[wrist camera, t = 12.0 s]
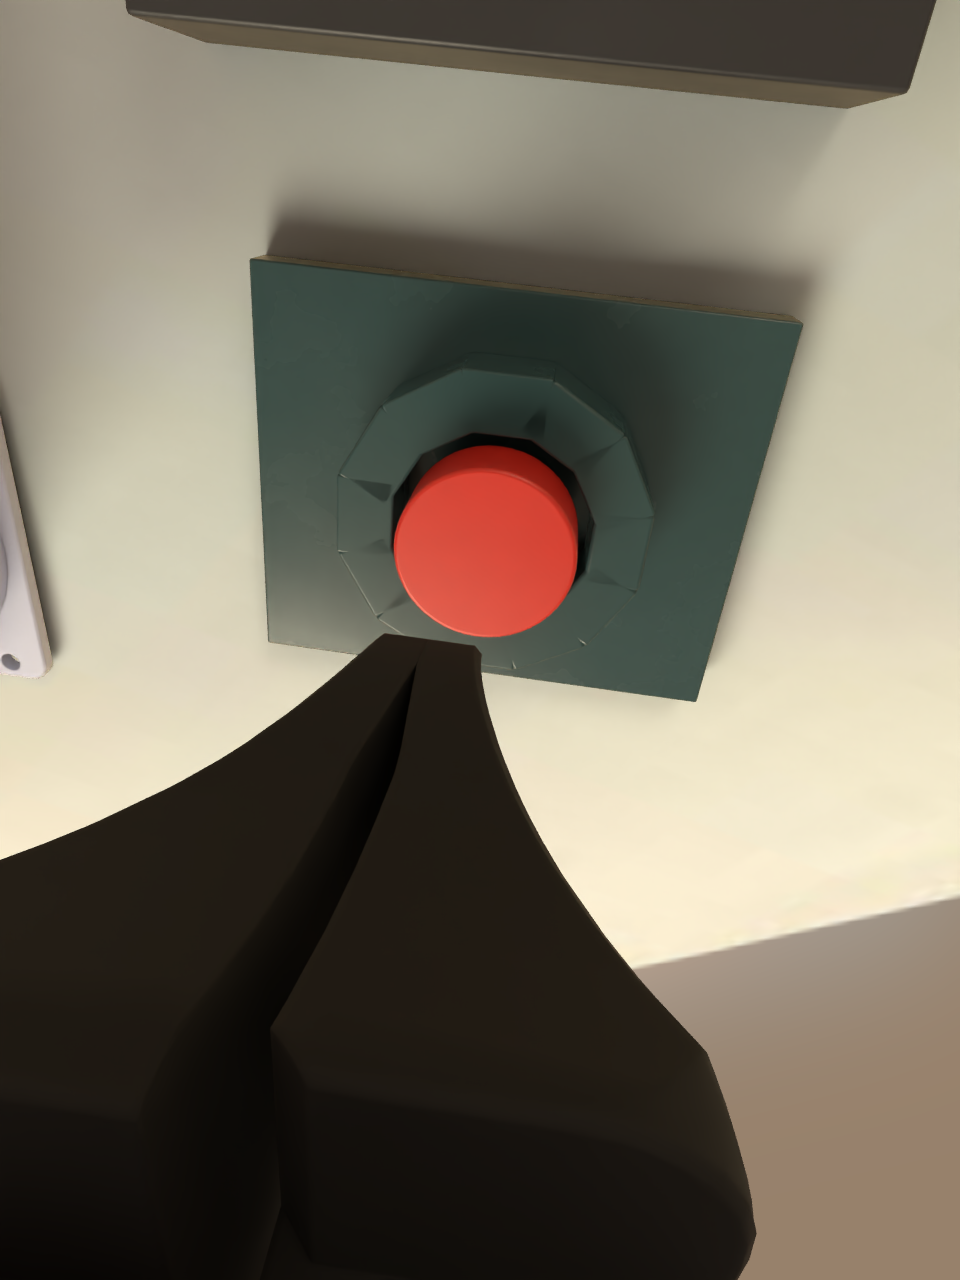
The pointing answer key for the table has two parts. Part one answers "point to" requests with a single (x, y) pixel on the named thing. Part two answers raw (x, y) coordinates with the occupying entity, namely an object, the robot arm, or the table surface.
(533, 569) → the power button
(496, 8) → the dial console
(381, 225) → the table surface
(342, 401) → the green button base
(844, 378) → the table surface
